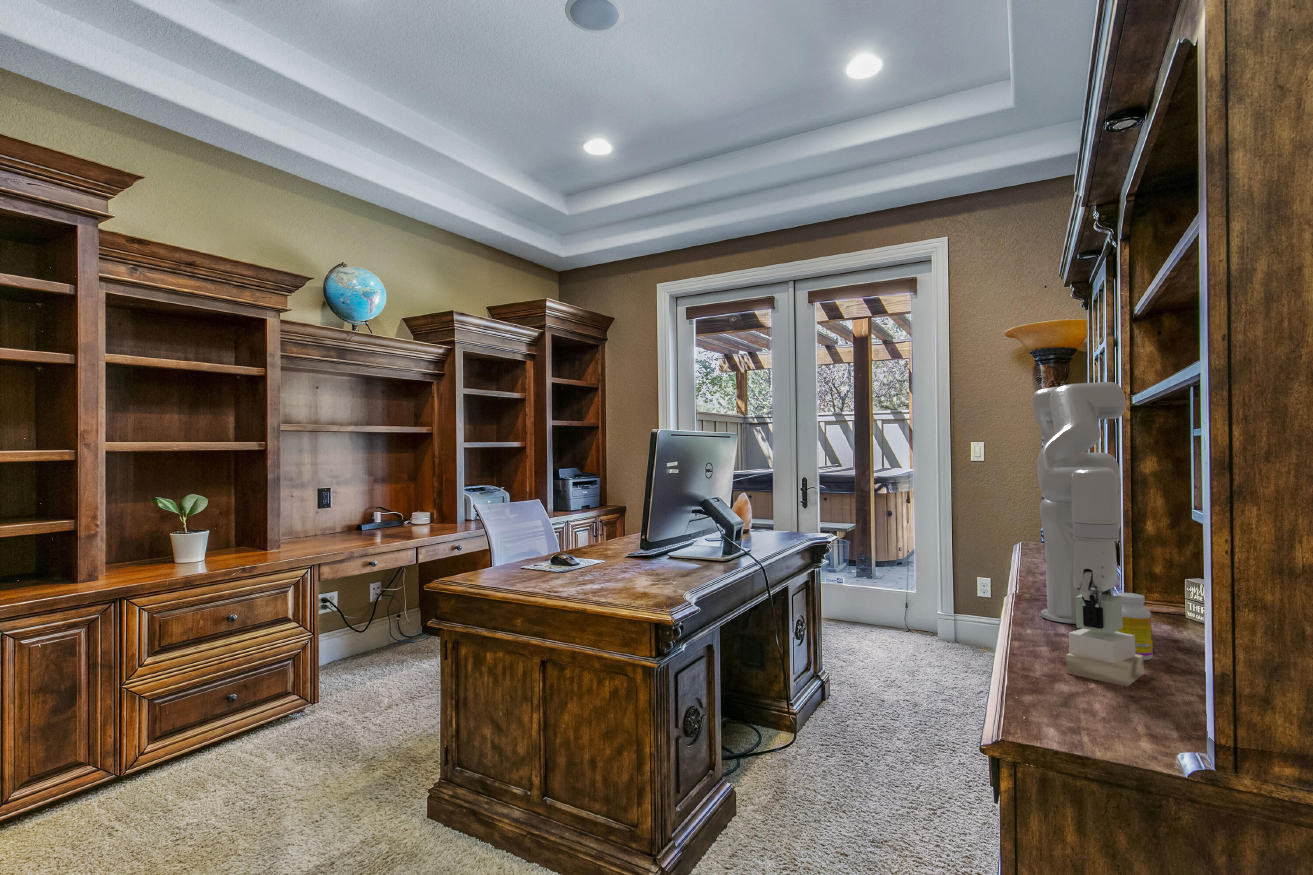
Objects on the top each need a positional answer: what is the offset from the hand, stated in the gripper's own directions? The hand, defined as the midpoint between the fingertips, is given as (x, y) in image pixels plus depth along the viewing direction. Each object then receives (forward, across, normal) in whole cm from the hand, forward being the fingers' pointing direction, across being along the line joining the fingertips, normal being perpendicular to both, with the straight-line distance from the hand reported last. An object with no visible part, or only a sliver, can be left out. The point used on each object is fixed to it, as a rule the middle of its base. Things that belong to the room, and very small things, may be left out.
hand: (1099, 623), depth 127 cm
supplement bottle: (+10, -16, +1) cm, 19 cm away
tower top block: (+6, 0, 0) cm, 6 cm away
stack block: (+1, 0, 0) cm, 1 cm away
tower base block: (+10, 0, +1) cm, 10 cm away
